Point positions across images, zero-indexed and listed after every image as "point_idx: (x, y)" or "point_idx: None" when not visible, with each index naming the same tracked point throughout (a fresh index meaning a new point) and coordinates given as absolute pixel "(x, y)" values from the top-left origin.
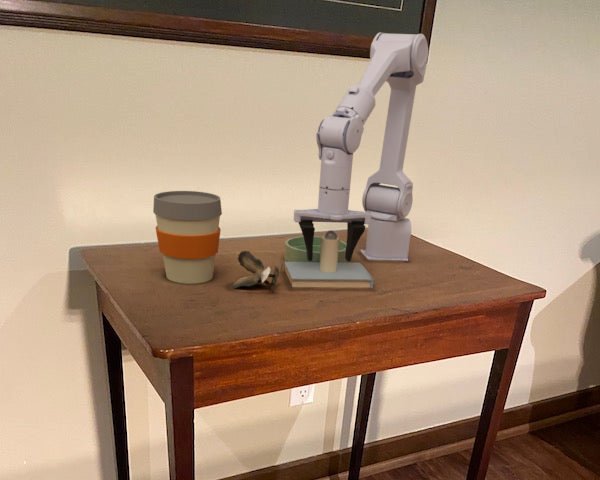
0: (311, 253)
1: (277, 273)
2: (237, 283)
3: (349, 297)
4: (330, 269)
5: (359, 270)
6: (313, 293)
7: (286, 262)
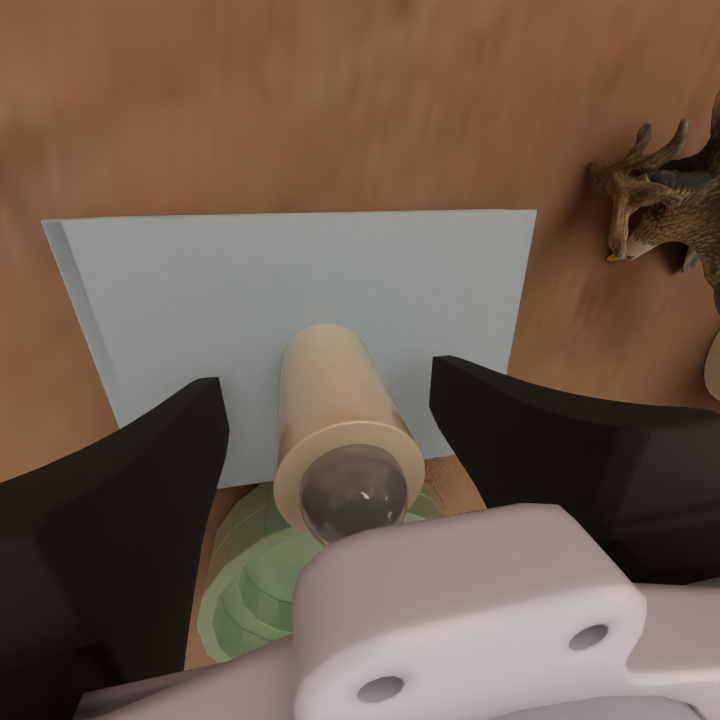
0: (461, 365)
1: (638, 187)
2: None
3: (228, 74)
4: (322, 329)
5: (149, 383)
6: (416, 153)
7: None
